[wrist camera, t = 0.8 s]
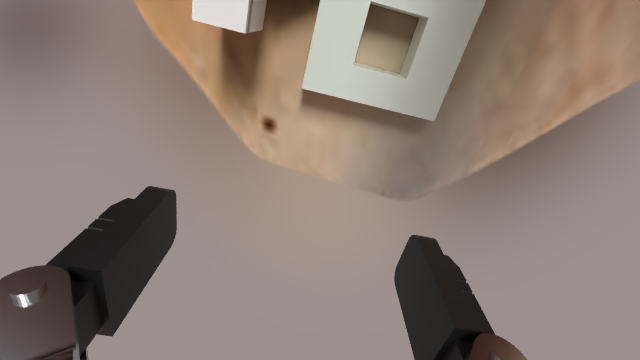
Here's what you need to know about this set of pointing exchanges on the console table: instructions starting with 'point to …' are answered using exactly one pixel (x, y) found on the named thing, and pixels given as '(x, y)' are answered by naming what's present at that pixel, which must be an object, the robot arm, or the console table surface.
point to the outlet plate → (419, 65)
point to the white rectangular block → (231, 14)
